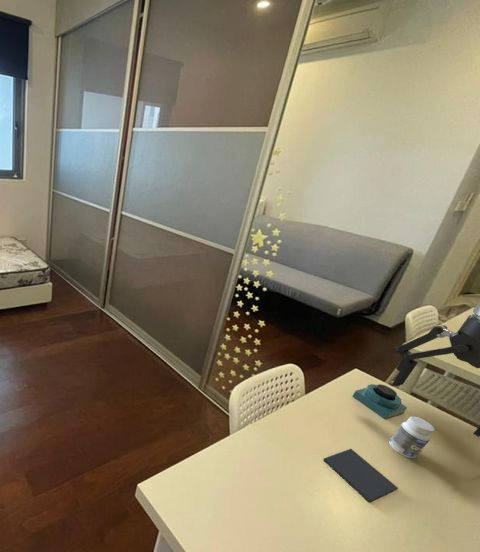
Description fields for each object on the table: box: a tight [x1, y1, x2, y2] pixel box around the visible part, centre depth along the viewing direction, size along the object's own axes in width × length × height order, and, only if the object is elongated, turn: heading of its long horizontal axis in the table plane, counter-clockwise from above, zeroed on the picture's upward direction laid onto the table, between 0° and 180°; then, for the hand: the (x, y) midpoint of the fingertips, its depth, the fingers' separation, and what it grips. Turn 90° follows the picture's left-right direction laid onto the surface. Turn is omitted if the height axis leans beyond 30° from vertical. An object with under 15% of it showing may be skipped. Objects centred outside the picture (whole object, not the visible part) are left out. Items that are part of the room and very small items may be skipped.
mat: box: [323, 448, 399, 503], centre depth 66 cm, size 9×9×1 cm
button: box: [374, 383, 398, 400], centre depth 84 cm, size 4×4×2 cm
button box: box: [352, 383, 408, 420], centre depth 85 cm, size 8×8×4 cm
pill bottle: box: [389, 416, 435, 459], centre depth 71 cm, size 5×5×8 cm
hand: (434, 407), depth 68 cm, fingers open, 13 cm apart
